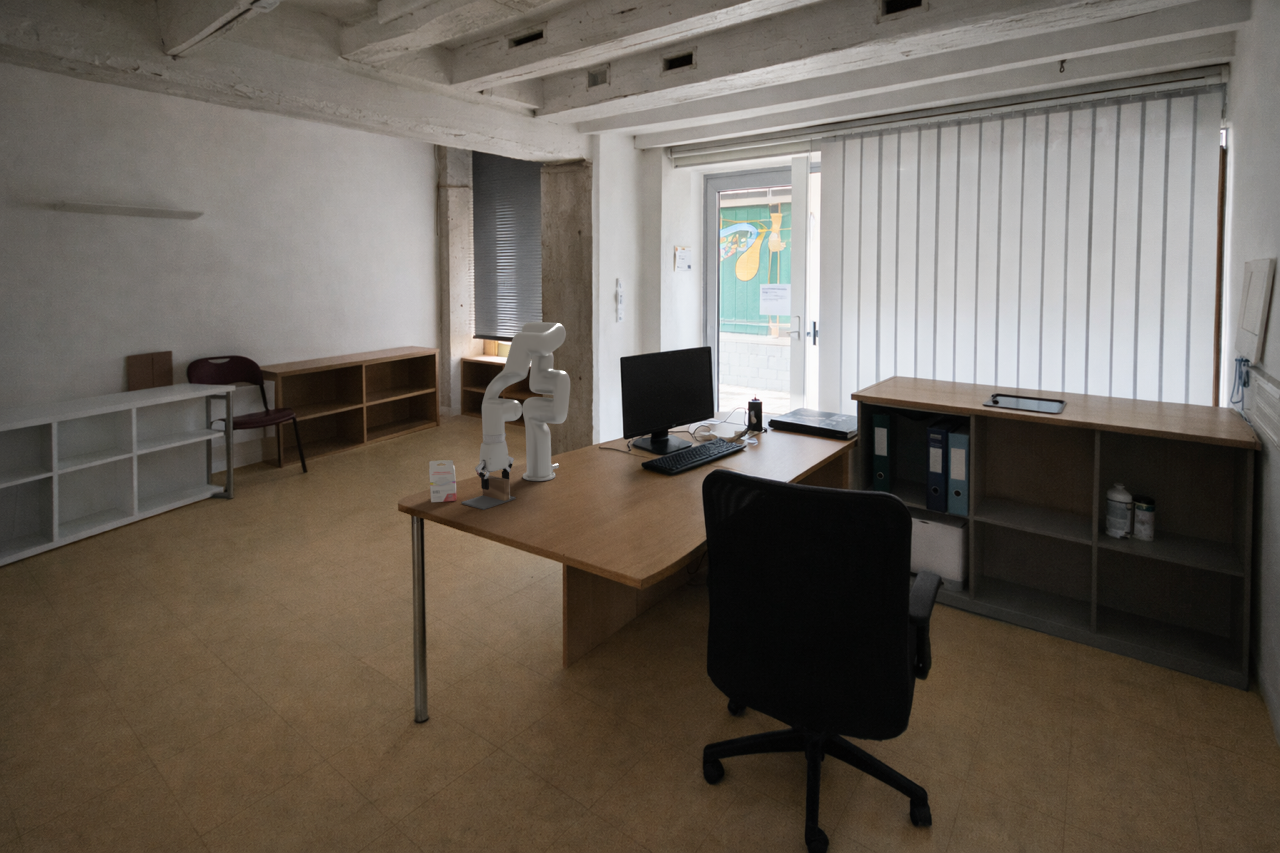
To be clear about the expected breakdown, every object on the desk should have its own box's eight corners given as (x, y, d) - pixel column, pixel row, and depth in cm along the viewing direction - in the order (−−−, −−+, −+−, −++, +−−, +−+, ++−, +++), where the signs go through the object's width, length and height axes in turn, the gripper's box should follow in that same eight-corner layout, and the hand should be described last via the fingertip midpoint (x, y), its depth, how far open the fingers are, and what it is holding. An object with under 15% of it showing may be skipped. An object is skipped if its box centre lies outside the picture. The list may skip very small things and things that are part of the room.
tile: (488, 493, 252) (487, 474, 251) (510, 499, 246) (509, 479, 244) (482, 495, 250) (482, 476, 248) (504, 500, 244) (504, 481, 242)
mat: (493, 493, 254) (493, 491, 254) (515, 498, 248) (515, 497, 248) (461, 503, 242) (461, 502, 242) (483, 509, 236) (483, 508, 236)
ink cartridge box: (456, 497, 250) (455, 456, 247) (456, 501, 245) (454, 460, 242) (431, 498, 248) (429, 457, 245) (430, 502, 243) (428, 461, 240)
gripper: (504, 432, 253) (505, 478, 256) (467, 441, 239) (469, 489, 242) (519, 435, 248) (520, 482, 252) (482, 444, 234) (484, 493, 238)
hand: (495, 485), depth 247 cm, fingers open, 9 cm apart
